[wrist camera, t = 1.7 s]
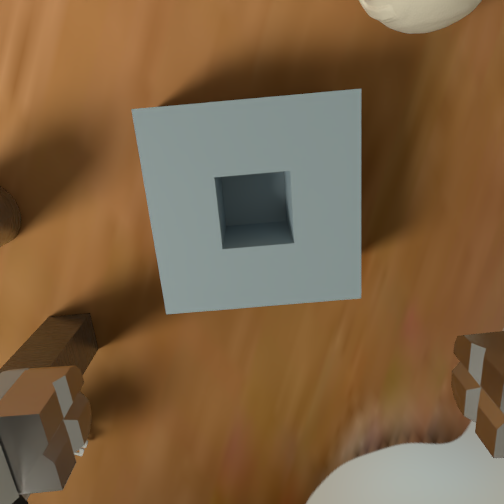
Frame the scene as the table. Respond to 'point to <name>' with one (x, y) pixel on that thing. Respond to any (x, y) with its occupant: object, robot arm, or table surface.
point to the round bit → (8, 217)
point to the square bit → (57, 344)
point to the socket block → (254, 199)
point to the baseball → (418, 13)
